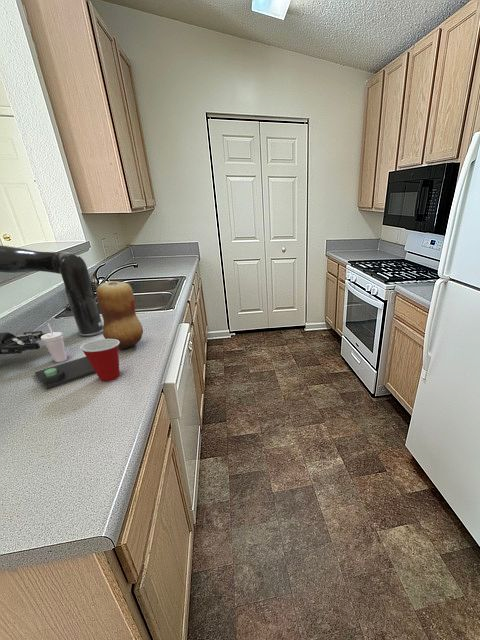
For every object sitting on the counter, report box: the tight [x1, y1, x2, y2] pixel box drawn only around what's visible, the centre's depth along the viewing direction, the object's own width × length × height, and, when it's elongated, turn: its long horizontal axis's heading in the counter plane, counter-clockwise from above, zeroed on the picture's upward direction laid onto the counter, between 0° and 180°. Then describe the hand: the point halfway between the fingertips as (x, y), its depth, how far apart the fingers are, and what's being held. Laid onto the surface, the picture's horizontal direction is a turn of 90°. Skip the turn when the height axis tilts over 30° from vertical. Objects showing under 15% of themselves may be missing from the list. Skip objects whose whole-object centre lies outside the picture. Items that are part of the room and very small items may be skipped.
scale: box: [34, 356, 96, 391], centre depth 110 cm, size 14×16×3 cm
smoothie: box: [40, 322, 68, 363], centre depth 117 cm, size 6×6×14 cm
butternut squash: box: [96, 280, 144, 350], centre depth 124 cm, size 14×13×25 cm
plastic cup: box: [79, 338, 121, 382], centre depth 105 cm, size 11×11×12 cm
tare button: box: [44, 368, 58, 377], centre depth 104 cm, size 3×3×2 cm
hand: (45, 340), depth 116 cm, fingers open, 8 cm apart
